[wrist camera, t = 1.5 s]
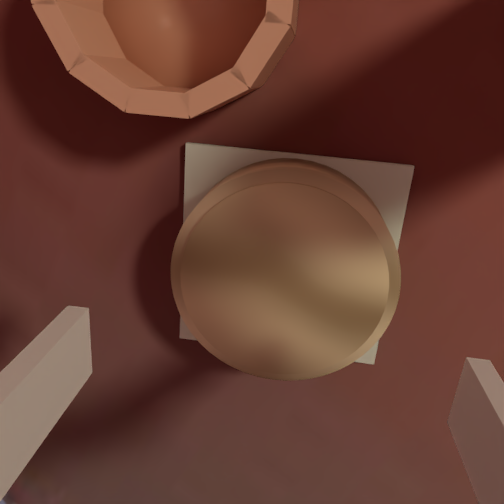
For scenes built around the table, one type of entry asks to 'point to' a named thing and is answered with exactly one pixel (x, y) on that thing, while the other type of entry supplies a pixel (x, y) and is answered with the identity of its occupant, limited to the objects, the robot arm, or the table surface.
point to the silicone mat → (360, 171)
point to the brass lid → (286, 270)
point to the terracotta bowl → (170, 49)
